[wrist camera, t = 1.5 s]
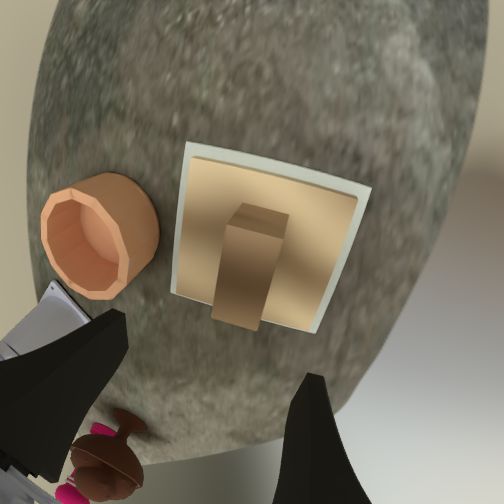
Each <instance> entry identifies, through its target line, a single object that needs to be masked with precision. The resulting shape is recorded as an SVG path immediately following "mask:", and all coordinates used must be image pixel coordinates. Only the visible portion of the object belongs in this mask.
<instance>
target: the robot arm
mask: <svg viewBox="0 0 504 504" xmlns="http://www.w3.org/2000/svg"><path fill="white" fill-rule="evenodd" d="M128 348H129V347H128V338H127V329H126V318H125V313H122V312H120V311H118V310H115V309H113V308H112V309H110V310H109V311H107V312H105V313H103V314H102V315H100V316H98V317H96V318H95V319H93V320H90V319H89V318H88V316H87V315H86V314H85V313H84V312H83V311H82V310H81V309H80V308H79V307H78V306H77V304H76V303H75V302H74V301H73V300H72V299H71V298H70V297H69V295H68V294H67V293H66V292H65V291H64V290H63V288H62V287H61V286H60V285H59V284H58V282H57V281H55V280H53V281H52V282H51V283H50V285H49V286H48V288H47V290H46V291H45V293H44V295H43V296H42V298H41V300H40V302H39V303H38V305H37V306H36V307H35V308H34V309H33V310H32V311H31V312H30V313H29V314H28V315H26V316H25V317H24V318H23V319H22V320H21V321H20V322H19V323H18V324H17V325H16V326H15V327H14V328H13V329H12V330H11V331H10V332H9V333H8V334H7V335H6V336H5V337H4V338H3V339H2V340H1V341H0V504H34V500H35V501H37V502H38V503H39V504H63V503H62V502H60V501H59V500H57V499H56V498H54V497H53V496H51V495H50V494H48V493H47V492H46V491H44V490H42V489H41V488H40V487H39V486H37V485H36V484H35V483H33V482H32V481H31V480H29V479H28V478H27V476H28V475H29V474H31V475H32V476H33V477H35V478H37V476H38V475H40V476H41V477H43V478H44V479H45V480H47V481H48V482H50V483H56V482H58V481H59V477H60V474H61V471H62V468H63V465H64V462H65V460H66V457H67V454H68V452H69V449H70V447H71V445H72V442H73V440H74V438H75V436H76V433H77V431H78V429H79V427H80V425H81V423H82V421H83V420H84V418H85V416H86V414H87V412H88V410H89V409H90V407H91V406H92V404H93V403H94V401H95V400H96V399H97V397H98V396H99V394H100V393H101V391H102V390H103V389H104V387H105V386H106V384H107V383H108V382H109V380H110V379H111V377H112V376H113V375H114V373H115V372H116V370H117V369H118V367H119V365H120V363H121V362H122V360H123V358H124V356H125V354H126V352H127V350H128ZM272 504H372V503H371V502H370V500H369V498H368V497H367V495H366V493H365V491H364V490H363V488H362V486H361V485H360V482H359V481H358V479H357V477H356V475H355V473H354V470H353V468H352V466H351V464H350V462H349V459H348V457H347V454H346V452H345V449H344V447H343V444H342V441H341V438H340V435H339V432H338V429H337V426H336V422H335V419H334V416H333V412H332V408H331V405H330V401H329V397H328V392H327V388H326V383H325V379H324V377H323V376H320V375H315V374H311V373H307V374H306V376H305V378H304V380H303V382H302V383H301V385H300V387H299V389H298V391H297V392H296V394H295V396H294V398H293V399H292V401H291V404H290V408H289V412H288V417H287V421H286V426H285V434H284V442H283V451H282V459H281V467H280V474H279V479H278V484H277V488H276V492H275V496H274V499H273V503H272Z"/></svg>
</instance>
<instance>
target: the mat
mask: <svg viewBox="0 0 504 504" xmlns="http://www.w3.org/2000/svg"><path fill="white" fill-rule="evenodd" d="M195 155H196V156H201V157H206V158H211V159H216V160H221V161H225V162H230V163H234V164H239V165H243V166H247V167H252V168H256V169H260V170H264V171H268V172H272V173H276V174H280V175H284V176H288V177H292V178H295V179H299V180H303V181H306V182H310V183H314V184H317V185H321V186H324V187H328V188H331V189H334V190H338V191H341V192H344V193H348V194H351V195H354V196H357V198H358V202H357V206H356V209H355V211H354V214H353V217H352V220H351V223H350V226H349V229H348V232H347V235H346V237H345V240H344V243H343V246H342V249H341V251H340V254H339V257H338V259H337V262H336V265H335V267H334V270H333V273H332V275H331V278H330V280H329V283H328V285H327V288H326V290H325V293H324V295H323V298H322V300H321V303H320V305H319V308H318V310H317V312H316V315H315V317H314V320H313V322H312V324H311V327H310V329H309V331H306V330H302V329H298V328H294V327H290V326H286V325H283V326H286V327H290V328H294V329H298V330H302V331H306V332H310V333H314V334H315V333H316V331H317V329H318V327H319V324H320V322H321V320H322V318H323V315H324V313H325V311H326V308H327V306H328V304H329V301H330V299H331V297H332V294H333V292H334V289H335V287H336V285H337V282H338V280H339V277H340V275H341V272H342V270H343V267H344V265H345V262H346V259H347V257H348V254H349V252H350V249H351V246H352V244H353V241H354V238H355V236H356V233H357V230H358V227H359V224H360V222H361V219H362V216H363V213H364V210H365V207H366V204H367V201H368V198H369V195H370V192H371V189H372V188H371V187H370V186H367V185H364V184H361V183H358V182H355V181H351V180H348V179H345V178H342V177H338V176H335V175H332V174H328V173H325V172H321V171H318V170H314V169H311V168H307V167H303V166H299V165H296V164H292V163H288V162H284V161H280V160H276V159H272V158H268V157H264V156H259V155H255V154H251V153H246V152H242V151H237V150H233V149H228V148H223V147H218V146H213V145H208V144H202V143H197V142H192V141H187V142H186V146H185V153H184V160H183V167H182V175H181V182H180V191H179V199H178V208H177V218H176V228H175V238H174V250H173V263H172V277H171V293H174V294H176V285H177V272H178V260H179V249H180V239H181V229H182V220H183V211H184V203H185V195H186V187H187V180H188V172H189V165H190V158H191V157H193V156H195ZM177 295H179V294H177ZM180 296H182V295H180ZM183 297H186V296H183ZM186 298H189V297H186ZM189 299H192V298H189ZM192 300H195V299H192ZM196 301H198V300H196ZM199 302H202V301H199ZM202 303H205V302H202ZM205 304H208V303H205ZM209 305H211V304H209ZM212 306H213V305H212ZM261 320H264V319H261ZM264 321H267V320H264ZM268 322H271V321H268ZM271 323H275V322H271ZM275 324H278V323H275ZM279 325H282V324H279Z"/></svg>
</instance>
